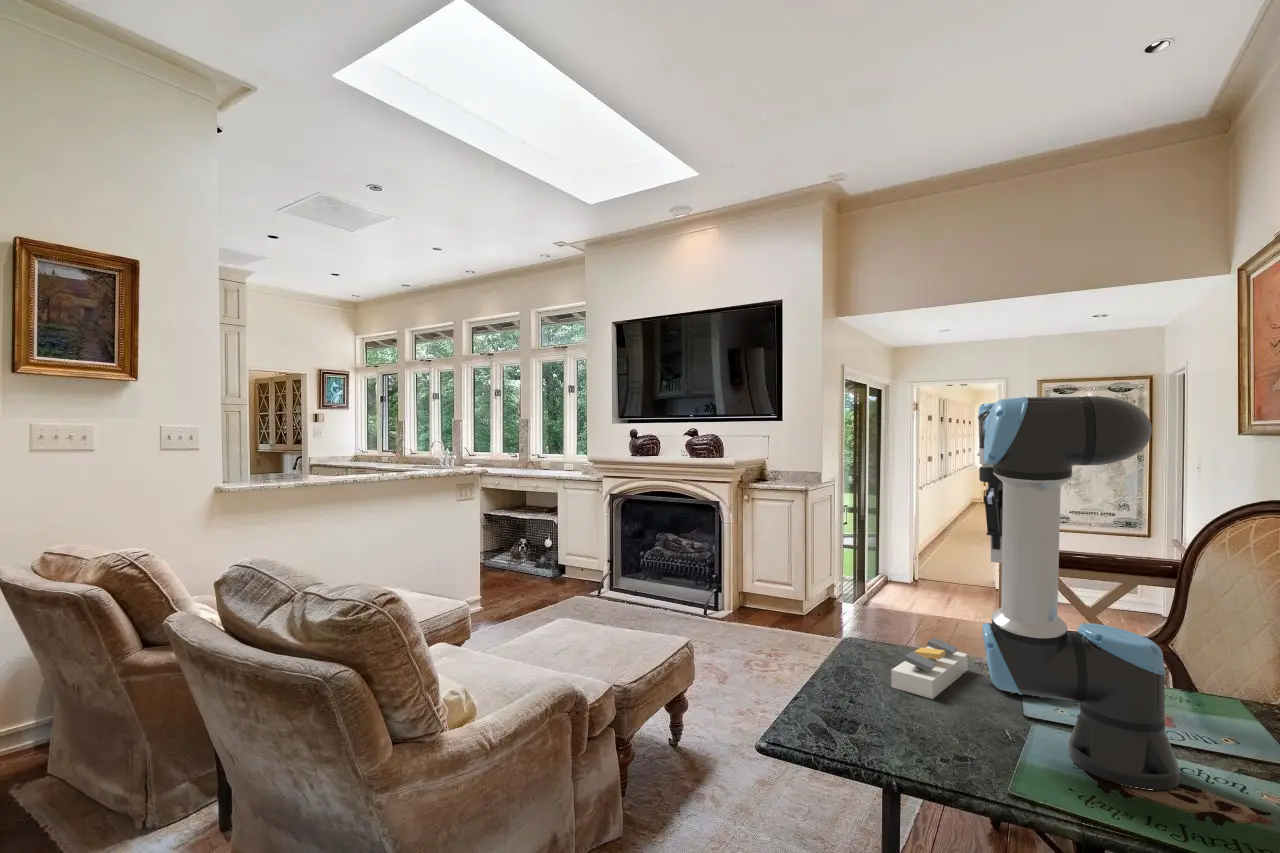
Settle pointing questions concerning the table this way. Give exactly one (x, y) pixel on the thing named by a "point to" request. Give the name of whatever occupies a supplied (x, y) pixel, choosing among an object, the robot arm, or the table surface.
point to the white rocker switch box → (929, 675)
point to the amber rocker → (930, 653)
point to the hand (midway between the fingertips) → (997, 562)
